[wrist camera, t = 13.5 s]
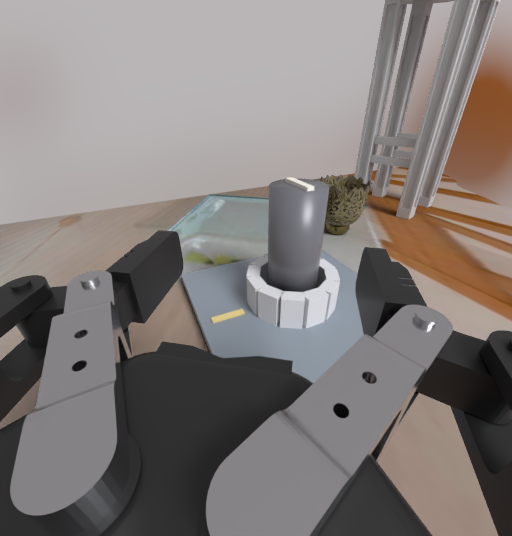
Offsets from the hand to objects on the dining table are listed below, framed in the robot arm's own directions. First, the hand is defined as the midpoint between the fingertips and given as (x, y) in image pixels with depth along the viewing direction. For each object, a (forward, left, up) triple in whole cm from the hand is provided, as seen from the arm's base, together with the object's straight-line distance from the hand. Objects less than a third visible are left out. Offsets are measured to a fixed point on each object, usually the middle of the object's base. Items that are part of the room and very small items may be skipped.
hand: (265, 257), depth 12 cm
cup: (-22, +23, -12) cm, 34 cm away
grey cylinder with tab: (-9, +7, -11) cm, 16 cm away
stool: (-28, +41, -12) cm, 51 cm away
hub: (-9, +7, -12) cm, 16 cm away
